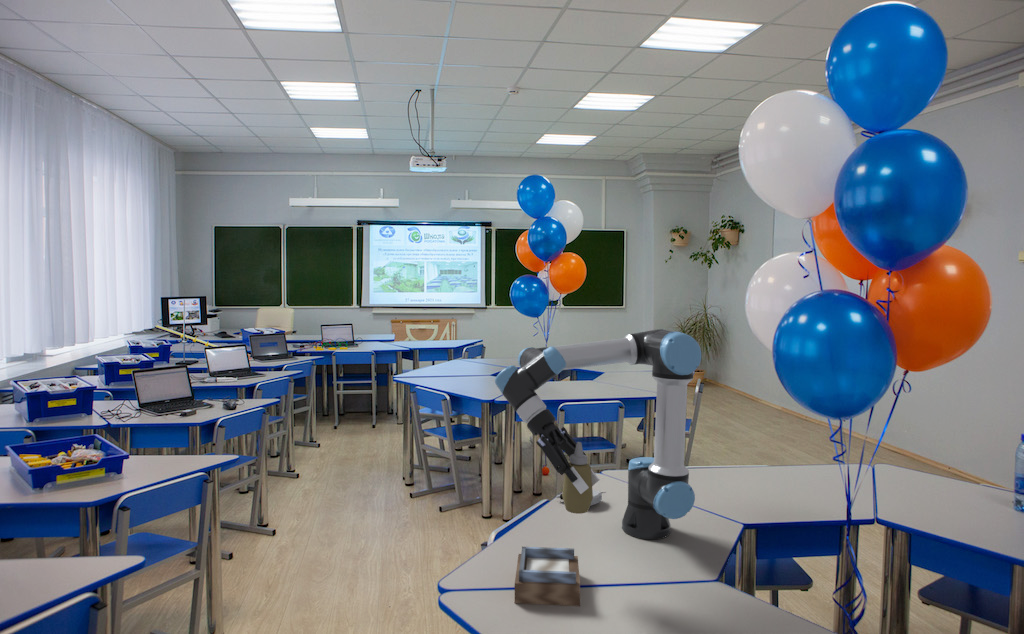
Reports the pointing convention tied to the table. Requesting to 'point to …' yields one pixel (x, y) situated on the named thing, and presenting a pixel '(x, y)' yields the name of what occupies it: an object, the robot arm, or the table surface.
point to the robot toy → (596, 499)
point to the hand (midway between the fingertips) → (590, 486)
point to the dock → (547, 577)
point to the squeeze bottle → (570, 493)
